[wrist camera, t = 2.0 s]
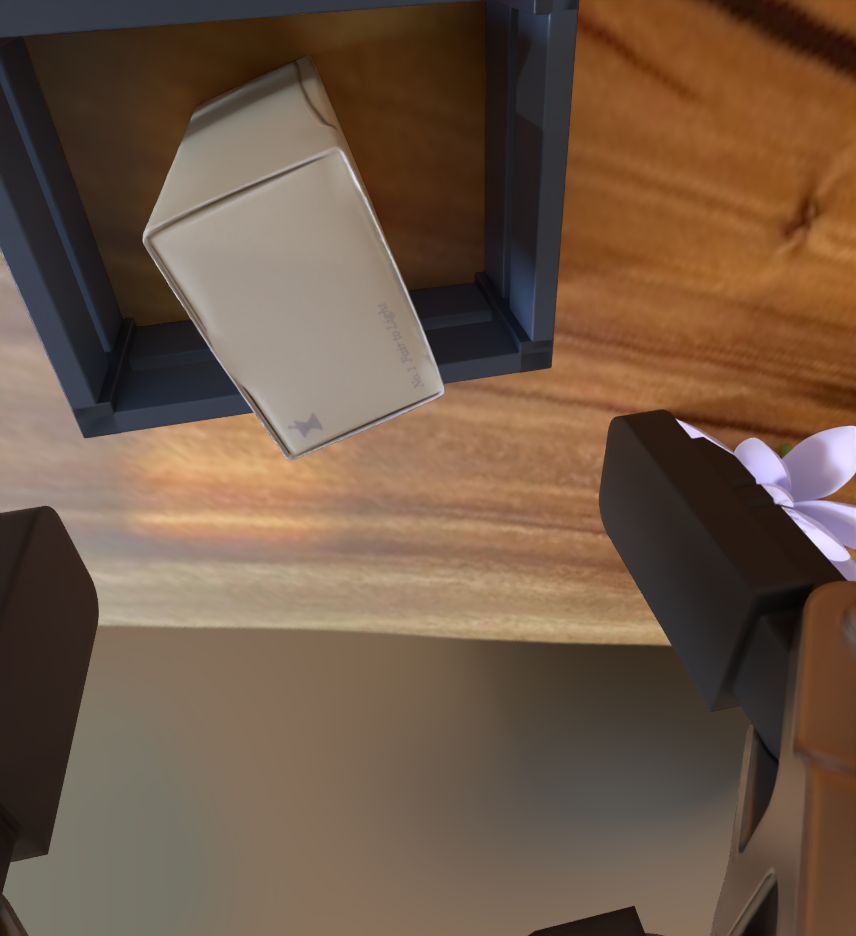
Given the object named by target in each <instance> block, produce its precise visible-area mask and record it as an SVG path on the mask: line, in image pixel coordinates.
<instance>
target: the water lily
mask: <svg viewBox="0 0 856 936" xmlns="http://www.w3.org/2000/svg"><path fill="white" fill-rule="evenodd" d="M676 420H677V421H678V423H679V424H680V425H681V426H682V427H683V428H684V430H685V431H686V432H687V433H688V434H689V435H690V437H691V438H698V437H705V438H706V439H708V440H710V441H711V442H713V443H715V444H716V445H718V446H720V447H722V448H723V449H725V450H727V451H728V452H730V453H732V454H733V455H735V456H736V457H737V458H738V459H739V461H740V462H741V463H742V464H743V465H744V466H745V467H746V468H747V469H748V471H749V472H750V473H751V474H752V475H753V476H754V477H755V478H756V483H757V484H761V485H762V486H763V487H764V488H765V489H766V491H767V492H768V493H769V494H770V495H771V496H772V497H773V498H774V503H775V504H779V505H780V506H781V507H782V508H783V509H784V511H785V512H786V513H787V514H788V515H789V516H790V517H791V518H792V519H793V520H794V522H795V523H796V524H797V525H798V526H799V527H800V528H801V529H802V530H803V532H804V533H805V534H806V535H807V536H808V537H809V538H810V539H811V540H812V542H813V543H814V544H815V545H816V546H817V547H818V548H819V549H820V550H821V552H822V553H823V554H824V555H825V556H826V557H827V558H828V559H829V560H830V562H831V563H832V564H833V565H834V566H835V567H836V568H837V569H838V570H839V572H840V573H841V574H842V575H843V576H844V577H845V578H846V579H847V580H848V581H856V561H855V560H854V559H853V558H852V557H851V556H850V555H849V553H848V552H847V550H846V549H845V548H844V546H843V545H845V546H847V547H850V548H853V549H856V505H852V504H847V503H842V502H835V501H825V500H817V499H820V498H823V497H826V496H828V495H830V494H832V493H834V492H836V491H837V490H839V489H840V488H841V487H842V486H843V485H845V484H846V483H847V482H848V481H849V480H850V479H851V478H852V477H853V475H854V474H855V473H856V426H844V427H836V428H832V429H829V430H825V431H822V432H819V433H817V434H815V435H812V436H810V437H808V438H807V439H805V440H803V441H802V442H800V443H799V444H797V445H796V446H795V447H794V448H793V447H792V446H791V445H788V444H785V445H782V446H781V451H780V457H779V456H778V455H777V454H776V453H775V452H774V451H773V450H772V449H771V448H770V447H769V446H768V445H766V444H765V443H764V442H763V441H761V440H760V439H758V438H749V439H747V440H745V441H743V442H742V443H741V444H739V445H738V447H737V448H736V450H735V452H733V451H732V450H731V449H730V448H728V447H727V446H726V445H724V444H723V443H722V442H720V441H719V440H717V439H716V438H714V437H712V436H711V435H709V434H707V433H706V432H704V431H702V430H700V429H698V428H696V427H694V426H692V425H690V424H688V423H685V422H683V421H680V420H678V419H676ZM842 544H843V545H842Z"/></svg>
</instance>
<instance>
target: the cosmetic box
mask: <svg viewBox="0 0 856 936" xmlns="http://www.w3.org/2000/svg"><path fill="white" fill-rule="evenodd" d="M143 243H144V245H145V247H146V249H147V251H148V252H149V254H150V255H151V257H152V259H153V260H154V262H155V263H156V265H157V267H158V268H159V270H160V271H161V273H162V275H163V276H164V278H165V279H166V281H167V282H168V284H169V286H170V287H171V289H172V290H173V292H174V294H175V295H176V297H177V298H178V300H179V301H180V302H181V304H182V306H183V307H184V309H185V310H186V312H187V313H188V315H189V317H190V318H191V320H192V321H193V323H194V324H195V326H196V327H197V329H198V331H199V332H200V334H201V335H202V337H203V338H204V340H205V341H206V343H207V345H208V346H209V348H210V349H211V351H212V352H213V354H214V355H215V357H216V359H217V360H218V361H219V363H220V364H221V366H222V367H223V369H224V370H225V371H226V373H227V374H228V376H229V377H230V379H231V380H232V381H233V383H234V384H235V386H236V387H237V389H238V390H239V392H240V393H241V395H242V396H243V398H244V399H245V400H246V402H247V403H248V405H249V406H250V407H251V409H252V410H253V412H254V413H255V415H256V416H257V417H258V419H259V420H260V422H261V423H262V425H263V426H264V428H265V429H266V430H267V432H268V433H269V435H270V436H271V438H272V439H273V440H274V442H275V443H276V444H277V446H278V447H279V449H280V450H281V452H282V453H283V455H284V456H285V458H286V459H287V460H289V461H293V460H295V459H297V458H300V457H302V456H304V455H306V454H308V453H311V452H314V451H317V450H319V449H321V448H324V447H326V446H329V445H331V444H333V443H336V442H339V441H341V440H343V439H345V438H348V437H351V436H353V435H355V434H357V433H360V432H362V431H364V430H367V429H369V428H371V427H374V426H376V425H378V424H381V423H383V422H386V421H389V420H391V419H393V418H395V417H397V416H399V415H402V414H404V413H406V412H408V411H410V410H413V409H415V408H417V407H419V406H422V405H424V404H426V403H428V402H430V401H432V400H435V399H437V398H439V397H441V396H442V395H443V394H444V392H445V387H444V384H443V381H442V378H441V375H440V372H439V369H438V367H437V364H436V361H435V358H434V355H433V353H432V350H431V347H430V345H429V342H428V340H427V337H426V334H425V332H424V329H423V327H422V324H421V322H420V319H419V317H418V314H417V312H416V309H415V307H414V305H413V302H412V300H411V297H410V295H409V292H408V290H407V287H406V285H405V283H404V280H403V278H402V276H401V273H400V271H399V268H398V266H397V264H396V261H395V259H394V257H393V254H392V252H391V250H390V247H389V245H388V243H387V240H386V238H385V235H384V232H383V229H382V227H381V225H380V222H379V219H378V217H377V214H376V212H375V209H374V207H373V204H372V201H371V199H370V197H369V194H368V192H367V189H366V187H365V184H364V182H363V179H362V177H361V174H360V172H359V169H358V167H357V164H356V162H355V159H354V157H353V154H352V152H351V150H350V147H349V145H348V142H347V140H346V137H345V135H344V133H343V130H342V128H341V125H340V123H339V121H338V118H337V116H336V113H335V111H334V109H333V106H332V104H331V101H330V99H329V97H328V94H327V92H326V89H325V87H324V85H323V82H322V80H321V78H320V75H319V73H318V70H317V68H316V66H315V63H314V61H313V59H312V58H311V57H310V56H305V57H303V58H301V59H298V60H296V61H294V62H291V63H289V64H287V65H284V66H282V67H280V68H277V69H275V70H272V71H270V72H268V73H266V74H263V75H261V76H259V77H257V78H255V79H252V80H250V81H248V82H246V83H244V84H242V85H239V86H237V87H235V88H233V89H231V90H228V91H226V92H224V93H222V94H220V95H218V96H216V97H214V98H212V99H210V100H208V101H206V102H204V103H202V104H200V105H198V106H197V107H196V108H195V110H194V113H193V115H192V118H191V120H190V122H189V125H188V127H187V129H186V132H185V135H184V136H183V139H182V142H181V145H180V147H179V149H178V151H177V154H176V157H175V159H174V161H173V164H172V166H171V169H170V171H169V173H168V176H167V178H166V181H165V183H164V186H163V188H162V191H161V193H160V195H159V198H158V200H157V203H156V205H155V207H154V209H153V212H152V215H151V217H150V219H149V222H148V224H147V226H146V228H145V231H144V233H143Z"/></svg>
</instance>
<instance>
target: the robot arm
mask: <svg viewBox="0 0 856 936" xmlns="http://www.w3.org/2000/svg"><path fill="white" fill-rule="evenodd" d="M599 507H600V513H601V518H602V522H603V525H604V527H605V530H606V532H607V534H608V536H609V538H610V539H611V541H612V543H613V544H614V546H615V548H616V550H617V551H618V553H619V555H620V557H621V558H622V560H623V562H624V563H625V565H626V567H627V569H628V570H629V572H630V574H631V576H632V577H633V579H634V581H635V582H636V584H637V586H638V588H639V589H640V591H641V593H642V594H643V596H644V598H645V600H646V601H647V603H648V605H649V607H650V608H651V610H652V612H653V613H654V615H655V617H656V619H657V620H658V622H659V624H660V626H661V627H662V629H663V631H664V632H665V634H666V636H667V638H668V639H669V641H670V643H671V645H672V646H673V648H674V650H675V651H676V653H677V655H678V656H679V658H680V660H681V662H682V664H683V665H684V667H685V669H686V670H687V672H688V674H689V676H690V677H691V679H692V681H693V683H694V684H695V686H696V688H697V689H698V691H699V692H700V694H701V696H702V698H703V700H704V701H705V703H706V705H707V707H708V708H709V710H710V712H713V711H719V710H723V709H727V708H732V707H737V706H741V707H742V708H743V710H744V711H745V713H746V715H747V716H748V718H749V720H750V721H751V724H750V726H749V728H748V731H747V736H746V741H745V748H744V755H743V762H742V770H741V777H740V783H739V791H738V798H737V805H736V813H735V819H734V826H733V833H732V840H731V847H730V855H729V860H728V865H727V870H726V875H725V878H724V882H723V885H722V889H721V892H720V895H719V898H718V902H717V906H716V910H715V914H714V918H713V923H712V928H711V933H710V936H856V581H848V580H847V579H846V578H845V577H844V576H843V575H842V574H841V573H840V572H839V570H838V569H837V568H836V567H835V566H834V565H833V564H832V563H831V562H830V560H829V559H828V558H827V557H826V556H825V555H824V554H823V553H822V552H821V550H820V549H819V548H818V547H817V546H816V545H815V544H814V543H813V542H812V540H811V539H810V538H809V537H808V536H807V535H806V534H805V533H804V532H803V530H802V529H801V528H800V527H799V526H798V525H797V524H796V523H795V522H794V520H793V519H792V518H791V517H790V516H789V515H788V514H787V513H786V512H785V511H784V509H783V508H782V507H781V506H780V505H779V504H775V503H774V498H773V497H772V496H771V495H770V494H769V493H768V492H767V491H766V489H765V488H764V487H763V486H762V485H761V484H757V483H756V478H755V477H754V476H753V475H752V474H751V473H750V472H749V471H748V469H747V468H746V467H745V466H744V465H743V464H742V463H741V462H740V461H739V459H738V458H737V457H736V456H735V455H733V454H732V453H730V452H728V451H727V450H725V449H723V448H722V447H720V446H718V445H716V444H715V443H713V442H711V441H710V440H708V439H706V438H705V437H698V438H691V437H690V435H689V434H688V433H687V432H686V431H685V430H684V428H683V427H682V426H681V425H680V424H679V423H678V421H677V420H676V419H675V418H674V417H673V415H672V414H671V413H670V412H668V411H667V410H655V411H649V412H643V413H636V414H630V415H624V416H618V417H615V418H613V419H612V421H611V423H610V426H609V430H608V436H607V443H606V450H605V457H604V464H603V471H602V478H601V485H600V492H599ZM98 617H99V608H98V598H97V593H96V589H95V586H94V583H93V581H92V578H91V576H90V575H89V573H88V571H87V569H86V567H85V565H84V563H83V561H82V559H81V557H80V555H79V553H78V552H77V550H76V548H75V546H74V544H73V542H72V540H71V538H70V536H69V534H68V532H67V531H66V529H65V527H64V525H63V523H62V521H61V519H60V517H59V516H58V514H57V513H56V511H55V510H54V509H53V508H51V507H49V506H42V507H35V508H29V509H23V510H17V511H10V512H4V513H0V936H28V934H27V932H26V930H25V929H24V927H23V925H22V924H21V922H20V920H19V918H18V917H17V915H16V913H15V912H14V910H13V908H12V907H11V905H10V903H9V902H8V900H7V899H6V898H5V897H4V895H3V894H2V892H3V888H4V884H5V880H6V876H7V872H8V868H9V865H10V862H15V861H19V860H23V859H28V858H33V857H38V856H42V855H47V854H48V851H49V846H50V841H51V837H52V833H53V828H54V823H55V819H56V814H57V809H58V804H59V800H60V796H61V791H62V786H63V782H64V777H65V773H66V768H67V763H68V759H69V754H70V750H71V745H72V740H73V736H74V731H75V727H76V722H77V717H78V712H79V708H80V703H81V699H82V694H83V690H84V685H85V681H86V676H87V671H88V667H89V662H90V657H91V653H92V648H93V644H94V639H95V634H96V630H97V625H98ZM528 936H662V935H658V934H650V933H645V932H644V930H643V927H642V925H641V922H640V919H639V917H638V914H637V912H636V909H635V906H632V907H628V908H624V909H620V910H616V911H612V912H609V913H604V914H600V915H596V916H593V917H589V918H585V919H581V920H577V921H573V922H569V923H565V924H561V925H557V926H553V927H549V928H545V929H542V930H537V931H534V932H533V933H531V934H530V935H528Z"/></svg>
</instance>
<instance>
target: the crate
mask: <svg viewBox="0 0 856 936" xmlns="http://www.w3.org/2000/svg"><path fill="white" fill-rule="evenodd" d="M466 1H479V0H0V251H1V253H2V255H3V257H4V260H5V262H6V264H7V266H8V269H9V271H10V273H11V275H12V278H13V280H14V282H15V284H16V287H17V289H18V291H19V293H20V295H21V298H22V300H23V302H24V304H25V307H26V309H27V311H28V313H29V316H30V318H31V320H32V322H33V325H34V327H35V329H36V331H37V333H38V336H39V338H40V340H41V342H42V345H43V347H44V349H45V351H46V354H47V356H48V358H49V360H50V363H51V365H52V367H53V369H54V371H55V374H56V376H57V378H58V380H59V383H60V385H61V387H62V389H63V392H64V394H65V396H66V398H67V401H68V403H69V405H70V407H71V410H72V412H73V414H74V417H75V419H76V421H77V423H78V426H79V428H80V430H81V432H82V434H83V437H84V438H91V437H97V436H104V435H111V434H117V433H122V432H128V431H135V430H142V429H148V428H155V427H161V426H168V425H175V424H181V423H188V422H195V421H201V420H208V419H214V418H221V417H228V416H234V415H241V414H247V413H254V412H253V410H252V409H251V407H250V406H249V405H248V403H247V402H246V400H245V399H244V398H243V396H242V395H241V393H240V392H239V390H238V389H237V387H236V386H235V384H234V383H233V381H232V380H231V379H230V377H229V376H228V374H227V373H226V371H225V370H224V369H223V367H222V366H221V364H220V363H219V361H218V360H217V359H216V357H215V355H214V354H213V352H212V351H211V349H210V348H209V346H208V345H207V343H206V341H205V340H204V338H203V337H202V335H201V334H200V332H199V331H198V329H197V327H196V326H195V324H194V323H193V321H192V320H187V321H179V322H172V323H164V324H157V325H149V326H142V327H137V325H136V322H135V319H134V318H125V319H123V318H122V316H121V313H120V310H119V307H118V304H117V302H116V299H115V296H114V293H113V290H112V288H111V285H110V282H109V279H108V276H107V273H106V271H105V268H104V265H103V262H102V259H101V257H100V254H99V251H98V248H97V245H96V243H95V240H94V237H93V234H92V231H91V228H90V226H89V223H88V220H87V217H86V214H85V212H84V209H83V206H82V203H81V200H80V198H79V195H78V192H77V189H76V186H75V183H74V181H73V178H72V175H71V172H70V169H69V167H68V164H67V161H66V158H65V155H64V153H63V150H62V147H61V144H60V141H59V138H58V136H57V133H56V130H55V127H54V124H53V122H52V119H51V116H50V113H49V110H48V108H47V105H46V102H45V99H44V96H43V93H42V91H41V88H40V85H39V82H38V79H37V77H36V74H35V71H34V68H33V65H32V63H31V60H30V57H29V54H28V51H27V48H26V46H25V43H24V40H23V37H22V36H31V35H44V34H57V33H70V32H82V31H95V30H108V29H121V28H133V27H146V26H159V25H172V24H185V23H197V22H210V21H223V20H236V19H249V18H261V17H274V16H287V15H300V14H312V13H325V12H338V11H351V10H364V9H376V8H389V7H402V6H415V5H427V4H440V3H453V2H466ZM578 10H579V0H486V119H485V271H484V272H476V273H475V282H474V283H466V284H459V285H451V286H443V287H436V288H428V289H421V290H413V291H408V292H409V295H410V297H411V300H412V302H413V305H414V307H415V309H416V312H417V314H418V317H419V319H420V322H421V324H422V327H423V329H424V332H425V334H426V337H427V340H428V342H429V345H430V347H431V350H432V353H433V355H434V358H435V361H436V364H437V367H438V369H439V372H440V375H441V378H442V381H443V384H446V383H452V382H459V381H466V380H472V379H479V378H485V377H492V376H499V375H505V374H512V373H518V372H520V373H521V372H527V371H534V370H541V369H547V368H551V366H552V353H553V340H554V338H553V337H554V323H555V310H556V297H557V284H558V271H559V257H560V244H561V231H562V218H563V205H564V192H565V178H566V165H567V152H568V139H569V126H570V112H571V99H572V86H573V73H574V60H575V47H576V33H577V20H578Z"/></svg>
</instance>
